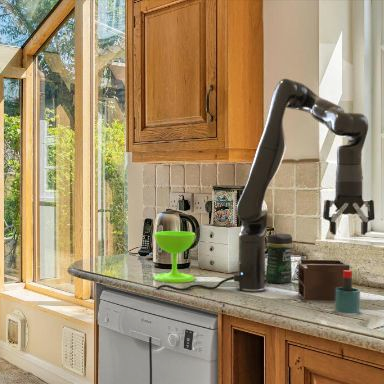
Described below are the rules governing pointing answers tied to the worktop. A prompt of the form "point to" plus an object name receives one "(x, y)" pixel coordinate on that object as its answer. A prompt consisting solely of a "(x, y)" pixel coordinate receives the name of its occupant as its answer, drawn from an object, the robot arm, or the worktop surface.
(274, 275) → the coffee jar
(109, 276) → the worktop surface
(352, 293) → the pen cup
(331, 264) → the dark wooden crate
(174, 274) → the wineglass
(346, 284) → the marker
